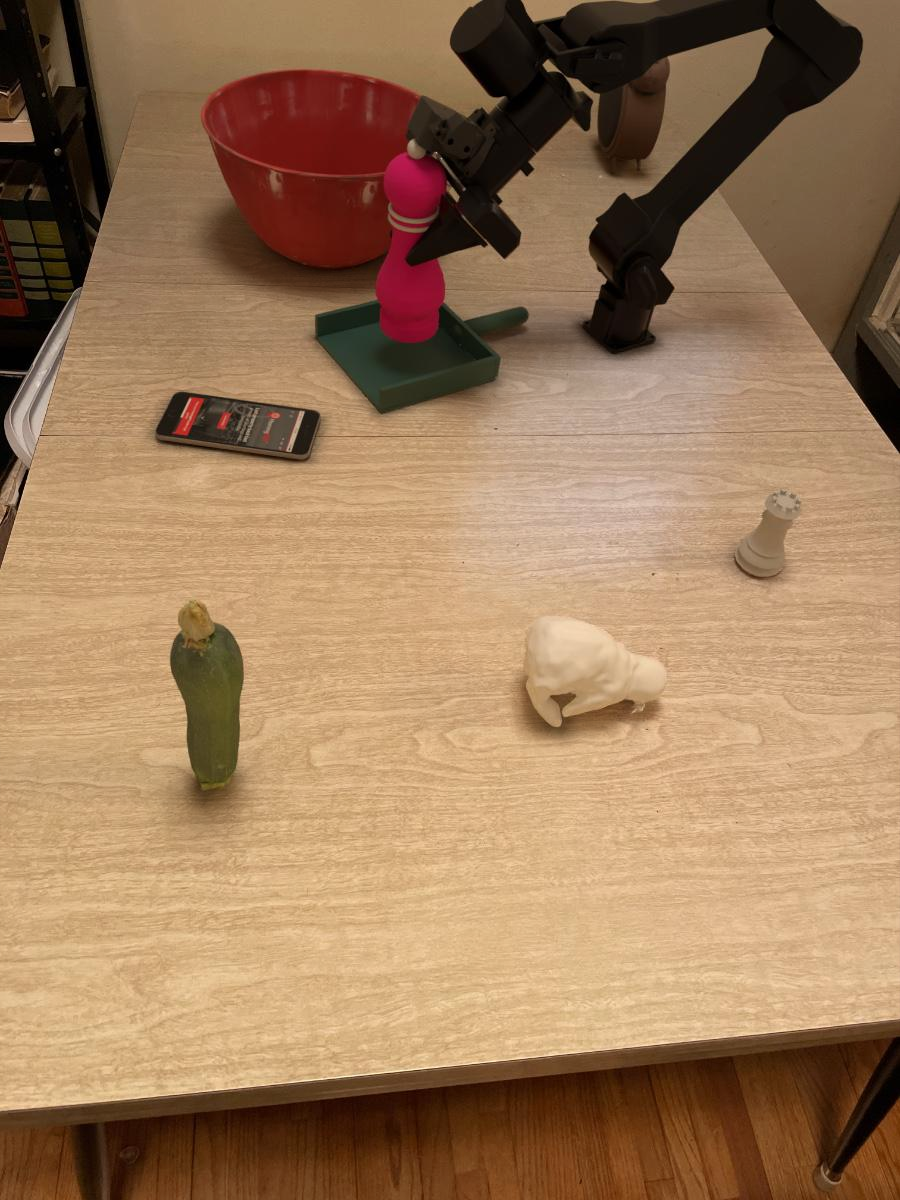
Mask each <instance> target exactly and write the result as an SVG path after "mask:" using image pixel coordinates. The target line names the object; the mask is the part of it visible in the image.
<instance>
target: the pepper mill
mask: <svg viewBox="0 0 900 1200" xmlns="http://www.w3.org/2000/svg"><path fill="white" fill-rule="evenodd" d="M407 151H408V152H405V153H402V154H400V155H398V156H396V157H395V158H394V159H393V160H392V161H391V162H390V163H389V165H388V167H387V169H386V171H385V175H384V190H385V194H386V196H387V198H388V199H389V201H390V203H389V206H388V210H389V214H388V220H389V222H390V223H391V224H392V230H393V234H392V242H391V246H390V249H389V250H388V253H387V255H386V257H385V259H384V261H383V263H382V265H381V267H380V269H379V270H378V274H377V278H376V282H375V283H376V284H375V297H376V300H378V301H379V303H380V304H381V306H382V307H381V309H380V327H381V330H382V331H383V333H384V334H386V335H387V336H388V337H390V338H391V339H393V340H396V341H399V342H404V343H418V342H423V341H425V340H428V339H430V338H431V337H433V336H434V335H435V333H436V332H437V330H438V324H439V323H438V322H439V312H438V309H439V308H440V306H441V305H442V303H443V302H445V298H446V282H445V281H446V280H445V276H444V273H443V270H442V268H441V264H440V262H439V260H438V258H436V259H433V260H430V261H428V262H425V263H422V264H419V265H416V266H413V267H411V266H410V265H409V264H408V263H406V261H405V257H406V256H407V254H408V253H409V251H410V250H411V249H412V247H413V246H414V245H415V244H416V242H417V241H418V240H419V239H420V237H421V236H422V235H423V234H424V233H425V231H426V230H427V229H428V228H429V226H430V225H431V224H432V223H433V222H434V220H435V219H436V218H437V217H438V214H439V208H440V207H439V204H440V199H441V195H442V194H443V195H444V196H445V194H446V190H447V178H446V173H445V171H444V168H443V166H442V165H441V163H440V162H439V161H438V160H437V159H436V158H434V157H433V156H431V155H429V154H426V150H425V149H423V148H422V147H421V146H419V145H418V144H417V143H416V141H415V139H412V140H411V141H410V142H409V144H408V147H407Z"/></svg>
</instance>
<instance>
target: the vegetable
mask: <svg viewBox="0 0 900 1200" xmlns="http://www.w3.org/2000/svg"><path fill="white" fill-rule="evenodd" d="M188 601H189V602H188V603H184V605H183V606H182V607H181V608H180V609H179V611H178V614H177V624H178V626H179V627H180V629H181V630H180V631H179V632H178V633H177V634H176V636H175V637H174V639H173V641H172V644H171V648H170V654H169V664H170V665H169V666H170V672H171V674H172V677H173V679H174V681H175V684H176V686H177V688H178V690H179V692H180V695H181V697H182V700H183V702H184V708H185V713H186V748H187V754H188V757H189V762H190V767H191V770H192V772H193V774H194V775H195V777H196V779H197V781H199V785H200V790H201V791H209V790H213V789H216V788H223V787H225V786H226V785H230V784H231V780H232V776H233V775H234V773H235V772H236V769H237V765H238V760H239V747H240V738H241V721H240V713H241V712H240V711H241V697H242V693H243V692H242V691H243V686H244V682H245V681H244V680H245V669H244V659H243V656H242V651H241V647H240V645H239V643H238V641H237V640H236V638H235V636H234V634H233V633H232V632H231V630H230V629H229V628H227V627H226V626H224V625H223V624H221V623H218V622H215V621H213V619H212V618H211V616H210V614H209V611H208V607H207V606H206V604H205V603H202V602H201V601H198V600H197V599H193V598H189V600H188Z"/></svg>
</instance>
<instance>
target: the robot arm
mask: <svg viewBox="0 0 900 1200" xmlns="http://www.w3.org/2000/svg"><path fill="white" fill-rule="evenodd" d="M763 29H765V30H766V31H767V32H768V33H769V34H770V35H771V36H772V38H771V40H770V41H769V42H768V43H767V44H766V46H765V48H764V50H763V53H762V56H761V60H760V62H759V66H758V68H757V71H756V74H755V77H754V79H753V80H752V82H751V83H750V84H749V85H748V86H747V87H746V88H745V89H744V90H743V92H742V93H741V94H740V95H739V96H738V97H737V98H736V99H735V100H734V101H733V102H732V103H731V105H730V106H728V108H727V109H725V111H724V112H723V113H722V114H721V115H720V116H719V117H718V118H717V119H716V121H714V122H713V124H712V125H711V126H709V128H708V129H707V130H706V131H705V132H704V133H703V134H702V135H701V137H699V139H697V140H696V142H695V143H694V144H693V145H692V146H691V147H690V148H689V150H687V152H686V153H684V154H683V156H682V157H681V158H680V159H679V160H678V161H677V162H676V163H675V164H674V165H673V166H672V167H671V169H670V170H669V171H668V172H667V173H666V174H665V175H664V176H663V177H662V178H661V179H660V180H659V181H658V182H657V184H656V185H655V186H654V187H652V189H650V191H648V192H647V193H645V194H642V195H640V196H637V197H635V198H631V196H629V195H628V194H627V192H622V193H620V194H619V195H618V196H617V197H616V198H615V199H614V200H613V202H612V204H610V206H609V207H608V208H607V209H606V211H604V212H603V213H602V214H600V215H598V216H597V217H596V218H595V221H596V222H597V223H596V224H595V226H594V227H593V228H592V230H591V231H590V234H589V236H588V239H589V241H588V253H589V255H590V257H591V258H592V260H593V261H594V263H595V266H596V267H595V268H596V270H597V272H598V273H600V274H601V275H602V276H603V277H604V278H605V279H606V280H605V283H603V284H601V285H600V287H599V292H598V296H597V299H595V302H594V306H593V311H592V315H591V318H590V319H588V320H583V321H582V324H581V326H582V328H583V329H584V330H586V331H587V332H588V333H589V334H590V335H591V336H593V338H595V339H596V340H597V341H598V342H600V344H602V345H603V346H604V347H606V348H607V350H609V351H610V352H611V353H612V354H619V353H623V352H626V351H629V350H632V349H635V348H639V347H642V346H646V345H650V344H652V343H655V342H656V340H657V336H655V335H654V334H653V333H652V332H651V331H650V330H649V328H650V324H651V320H652V317H653V315H654V310H655V307H657V306H661V305H666V304H667V302H668V300H669V299H670V297H671V295H672V294H673V292H674V291H675V286H674V284H673V283H672V282H671V281H670V279H669V278H668V276H667V275H666V274H665V272H664V271H663V270H662V268H663V267H664V265H665V264H666V263H667V262H668V260H669V259H670V258H671V256H672V254H673V253H674V249H675V245H676V242H677V240H678V236H679V234H680V230H681V228H682V227H683V225H684V224H685V223H686V222H687V221H688V220H689V219H690V218H691V217H692V216H693V214H694V213H695V212H696V211H697V210H698V209H699V208H700V207H701V206H702V205H703V204H704V203H705V202H706V201H707V200H708V199H709V198H710V197H711V196H712V195H713V194H714V193H715V192H716V191H717V190H718V189H719V187H720V186H721V185H723V183H724V182H725V181H726V180H727V179H728V178H729V177H730V176H731V175H732V174H733V173H734V172H735V171H736V170H737V169H738V168H739V167H740V166H741V165H742V163H743V162H744V161H746V160H747V159H748V158H749V157H750V156H751V154H753V152H754V151H755V150H756V149H757V148H758V147H759V146H760V145H761V144H762V143H763V142H764V141H765V140H766V139H767V138H768V137H769V136H770V135H771V134H772V133H773V131H774V130H775V129H776V128H777V127H778V126H779V125H780V124H782V122H783V121H784V120H786V118H788V117H790V116H791V115H792V114H795V113H798V112H801V111H803V110H805V109H809V108H811V107H813V106H816V105H818V104H820V103H822V102H823V101H824V100H826V99H827V98H828V97H829V96H830V95H832V94H833V93H834V92H835V91H837V89H839V88H840V87H841V86H842V85H843V84H846V82H847V81H848V80H850V78H851V77H852V76H853V75H854V73H855V72H856V71H857V70H858V68H859V66H860V65H861V61H862V60H861V56H862V53H863V50H864V38H863V35H862V34H863V33H862V32H861V31H860V29H858V28H857V27H856V26H854V25H853V24H851V23H850V22H847V21H846V20H845V19H843V18H842V17H840V16H838V15H836V14H835V13H833V12H831V11H830V10H828V9H826V8H824V7H823V6H822V5H821V4H820V3H819V2H818V1H817V0H654V1H652V2H631V1H623V0H603V1H602V0H601V1H589V2H582V3H579V4H577V5H574V6H573V7H571V8H570V9H569V10H568V11H566V13H565V15H561V16H560V15H559V16H556V17H550V18H545V19H542V20H541V19H540V20H536V21H533V20H532V18H531V16H530V15H529V13H528V12H527V10H526V6H525V4H524V2H523V1H522V0H480V1H478V2H477V3H475V4H474V5H473V6H469V7H467V8H466V10H464V11H463V13H462V14H461V15H460V16H459V18H458V19H457V21H456V22H455V24H454V26H453V28H452V30H451V32H450V37H449V46H450V49H451V51H452V52H453V53H454V54H455V55H456V57H457V58H458V59H459V61H460V62H461V63H462V64H463V65H464V66H465V68H466V70H468V72H469V73H470V74H471V76H472V77H473V78H474V79H475V80H476V82H477V83H478V84H479V85H480V87H482V89H483V90H484V91H485V92H486V94H487V95H488V96H489V97H491V98H492V99H493V98H494V99H499V98H501V99H500V100H499V102H498V103H497V104H496V105H494V107H493V108H492V109H491V110H490V111H489V112H487V111H486V109H484V108H483V107H482V106H481V107H480V108H476V109H474V110H473V112H471V114H470V115H468V116H465V115H464V114H462V113H460V112H458V111H457V110H455V109H453V108H452V107H449V106H447V105H445V104H443V103H441V102H439V101H437V100H435V99H432V98H431V97H428V96H426V95H424V94H422V95H421V94H420V95H421V97H420V99H419V101H418V103H417V106H416V108H415V110H414V112H413V114H412V116H411V118H410V121H409V123H408V125H407V127H406V129H407V131H408V133H407V134H406V135H405V137H406V138H407V140H408V141H409V142H410V141H411V140H412V139H415V141H416V143H417V144H418V145H419V146H421V147H422V148H423V149H425V150H426V154H429V155H431V156H433V157H434V158H436V159H437V160H438V161H439V162H440V163H441V165H442V166H443V168H444V171H445V173H446V178H447V190H446V194H445V196H444V195H443V194H442V195H441V199H440V204H439V207H440V208H439V214H438V217H437V218H436V219H435V220H434V222H433V223H432V224H431V225H430V226H429V228H428V229H427V230H426V231H425V233H424V234H423V235H422V236H421V237H420V239H419V240H418V241H417V242H416V244H415V245H414V246H413V247H412V249H411V250H410V251H409V253H408V254H407V256H406V257H405V261H406V263H408V264H409V265H410V266H411V267H413V266H416V265H419V264H422V263H425V262H428V261H430V260H433V259H436V258H437V259H438V258H439V259H440V258H441V257H445V256H448V255H450V254H453V253H457V252H461V251H465V250H468V249H472V248H475V247H479V246H481V247H482V248H483V249H485V248H487V247H488V246H491V247H492V248H493V249H494V250H495V252H497V254H498V255H499V256H500V257H501V258H502V259H503V260H506V259H508V257H510V256H511V254H512V253H514V251H516V249H518V248H519V247H520V245H521V237H522V231H521V229H519V227H518V226H517V225H516V223H515V222H514V221H513V220H512V219H511V217H510V216H509V215H508V214H507V212H505V210H504V209H503V208H502V207H501V206H500V205H501V204H502V203H503V202H504V201H503V199H501V197H500V196H499V193H500V192H501V191H503V189H504V188H505V187H506V186H507V185H508V184H509V183H510V182H511V181H512V180H513V179H514V178H515V177H516V176H517V175H518V173H519V172H521V173H522V174H523V175H524V176H525V177H526V178H528V177H529V176H530V175H531V174H532V172H533V171H535V167H533V165H532V164H531V163H530V161H531V160H533V158H534V157H536V155H537V154H539V152H540V151H541V150H542V149H543V148H545V146H546V145H547V144H548V143H549V142H550V141H551V140H552V139H553V138H554V137H555V136H556V135H557V134H558V133H559V132H560V131H561V130H562V129H563V128H564V127H565V126H566V125H567V124H568V123H569V122H570V121H571V120H572V121H573V122H574V123H575V124H576V125H577V126H578V127H579V128H580V129H581V130H582V131H583V132H585V133H586V132H589V131H590V130H591V124H592V123H591V122H592V114H591V113H592V107H593V104H594V99H593V98H592V97H590V95H589V94H587V93H586V92H585V91H584V90H580V91H576V90H575V89H574V87H573V86H572V84H571V83H570V81H569V80H568V79H573V80H577V81H578V82H580V83H581V84H582V85H583V86H584V87H585V88H586V89H588V90H589V91H591V92H593V93H594V94H598V95H600V94H604V93H610V92H612V91H614V90H616V89H618V88H620V87H622V86H624V85H626V84H628V83H631V82H633V81H635V80H637V79H639V78H640V77H642V76H643V75H644V74H645V73H646V72H647V71H648V70H649V69H650V67H651V66H652V65H653V64H654V63H656V62H658V61H660V60H662V59H664V58H666V57H667V58H668V57H671V56H675V55H678V54H681V53H684V52H688V51H691V50H695V49H698V48H702V47H705V46H708V45H712V44H715V43H719V42H722V41H725V40H729V39H732V38H736V37H739V36H742V35H745V34H749V33H752V32H756V31H759V30H763ZM547 61H549V63H550V64H552V65H553V66H554V67H555V68H556V69H557V70H558V71H557V70H556V71H555V70H551V71H548V70H547V69H546V68H545V66H544V64H545V63H546V62H547ZM567 78H568V79H567ZM451 189H453V190H454V192H455V193H456V194H457V196H458V200H456V198H454V196H453V195H452V193H451V192H450V190H451ZM392 234H393V230H391V232H390V234H389V235H390V237H391V238H392Z"/></svg>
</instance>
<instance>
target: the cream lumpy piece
mask: <svg viewBox="0 0 900 1200" xmlns="http://www.w3.org/2000/svg"><path fill="white" fill-rule="evenodd" d="M524 633H525V637H524V648H525V651H524V659H523V662H522V663H523V664H522V665H523V669H524V671H525V673H526V675H527V677H528V678H527V681H526V684H525V689H526V690H527V693H528V696H529V698H530V701H531V703H532V705H533V708H534V709H535V711H536V712H537V713H538V714H539V716H540V717H542V718H543V720H545V722H546V723H547V724H548V725H550V726H552V727H554V728H559V727H560V726H561V725H562V723H563V719H562V716H563V717H564V718H568V717H572V716H577V715H580V714H584V713H588V712H591V711H596V710H601V709H603V708H606V707H608V706H610V705H616V704H619V703H620V702H623V700H628V701H632V702H633V703H634V706H632V708H634V709H633V710H632V711H631V713H630V715H632V714H633V713H637V712H638V713H640V712H643V711H644V708H645V706H646V704H645V703H648V702H653V701H655V700H656V699H658V698H659V697H660V696H661V695H663V692H664V691H665V690H666V688H667V684H668V671H667V668H666V666H665V665H664V664H663V663H662V662H661V661H659V660H658V659H656V658H653V657H651V656H648V655H647V656H646V655H643V654H635V653H633V652H631V651H629V650H628V649H627V648H626V646H625V644H623V642H619V641H616V639H615V638H614V637H613V635H611V634H610V633H609V632H608V631H607V630H604V629H602V628H600V627H599V626H597V625H594V624H592V623H590V622H587V621H584V620H581V619H577V618H575V617H572V616H562V615H544V616H541V617H538V618H537V619H535V620H533V622H532V623H531V624H529V625H528V626H527V627H526V628H525V630H524ZM569 693H570V694H573V695H575V698H573V699H572V700H571V701H570V702H569V703H567V704H566V705H565V706H564V707H563V708H562V710H561V709H560V706H559V704H558V702H557V701H555V699H553V698H552V697H551V696H559V695H563V694H564V695H566V694H569ZM628 710H630V708H628ZM628 710H627V711H628Z"/></svg>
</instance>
